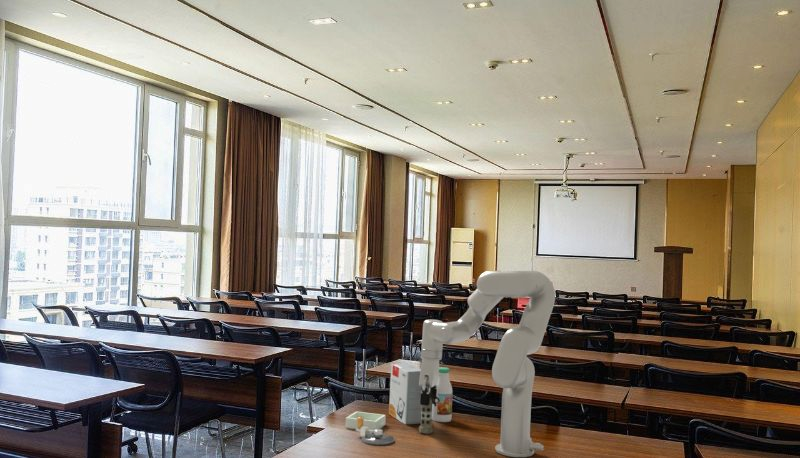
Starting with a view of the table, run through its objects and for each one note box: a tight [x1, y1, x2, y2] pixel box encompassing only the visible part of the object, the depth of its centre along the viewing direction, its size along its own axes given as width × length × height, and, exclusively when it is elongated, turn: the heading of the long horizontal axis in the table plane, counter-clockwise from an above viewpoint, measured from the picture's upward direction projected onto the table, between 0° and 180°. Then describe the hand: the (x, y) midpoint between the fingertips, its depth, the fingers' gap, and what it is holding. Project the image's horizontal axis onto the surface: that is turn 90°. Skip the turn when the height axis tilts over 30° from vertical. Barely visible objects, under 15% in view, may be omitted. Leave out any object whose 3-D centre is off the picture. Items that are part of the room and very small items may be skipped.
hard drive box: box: [388, 363, 422, 426], centre depth 256 cm, size 16×8×20 cm, turn 25°
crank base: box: [359, 426, 395, 446], centre depth 225 cm, size 12×11×4 cm
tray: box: [344, 411, 387, 430], centre depth 243 cm, size 12×11×4 cm
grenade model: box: [418, 390, 440, 435], centre depth 239 cm, size 6×7×15 cm
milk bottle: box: [432, 366, 453, 423], centre depth 257 cm, size 8×8×20 cm
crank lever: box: [355, 417, 384, 438], centre depth 227 cm, size 10×3×5 cm, turn 58°
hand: (428, 401), depth 239 cm, fingers open, 9 cm apart
